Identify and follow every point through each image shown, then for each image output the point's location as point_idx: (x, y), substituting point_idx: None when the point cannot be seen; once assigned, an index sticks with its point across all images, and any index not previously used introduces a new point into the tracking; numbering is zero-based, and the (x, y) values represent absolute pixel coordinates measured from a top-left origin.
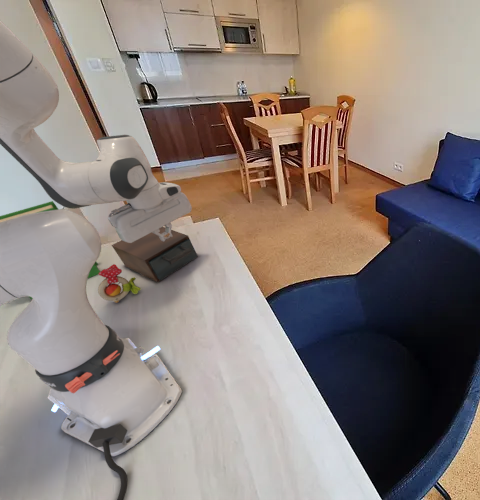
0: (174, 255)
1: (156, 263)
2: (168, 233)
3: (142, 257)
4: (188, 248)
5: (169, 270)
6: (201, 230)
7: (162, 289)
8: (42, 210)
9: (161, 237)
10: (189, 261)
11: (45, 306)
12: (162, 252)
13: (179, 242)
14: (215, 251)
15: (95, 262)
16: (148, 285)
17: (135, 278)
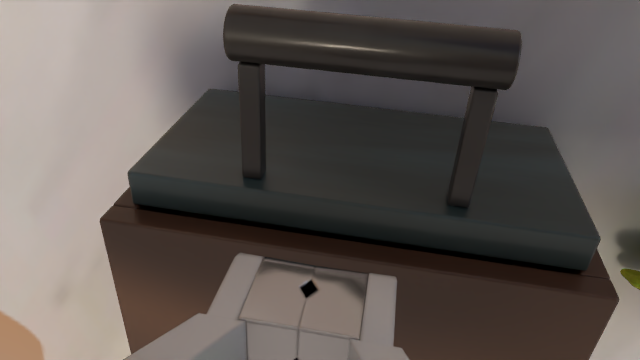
0: (350, 165)
1: (539, 205)
2: (256, 315)
3: (570, 351)
4: (232, 45)
5: (454, 129)
6: (36, 295)
7: (623, 38)
8: None
9: (390, 343)
10: (283, 97)
11: None
12: (414, 252)
13: (216, 223)
14: (90, 21)
15: None
16: (592, 185)
17: (636, 277)
